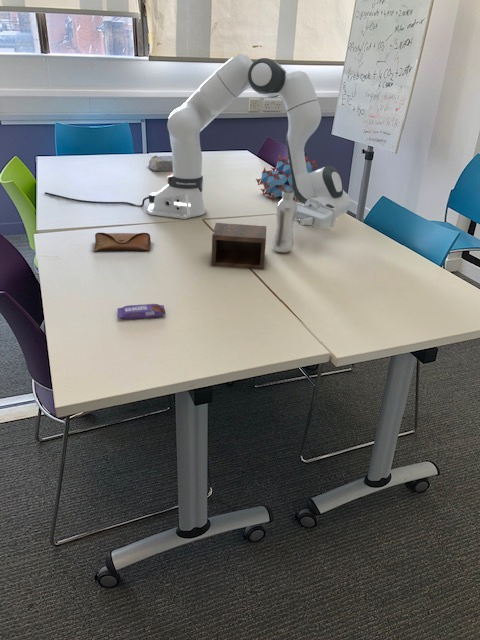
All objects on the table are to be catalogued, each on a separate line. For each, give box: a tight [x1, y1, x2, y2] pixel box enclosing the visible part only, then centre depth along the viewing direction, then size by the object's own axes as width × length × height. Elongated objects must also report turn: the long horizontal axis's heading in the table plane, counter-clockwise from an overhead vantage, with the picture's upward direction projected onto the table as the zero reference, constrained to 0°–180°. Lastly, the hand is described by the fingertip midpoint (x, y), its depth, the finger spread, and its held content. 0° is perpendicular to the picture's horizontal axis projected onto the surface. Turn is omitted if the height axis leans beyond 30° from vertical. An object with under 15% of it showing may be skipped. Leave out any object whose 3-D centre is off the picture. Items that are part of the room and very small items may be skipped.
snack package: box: [116, 303, 167, 320], centre depth 124 cm, size 12×2×5 cm
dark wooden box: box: [211, 222, 267, 270], centre depth 155 cm, size 16×11×10 cm
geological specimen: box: [148, 155, 173, 172], centre depth 256 cm, size 11×6×15 cm
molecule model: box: [255, 155, 318, 201], centre depth 218 cm, size 16×14×25 cm
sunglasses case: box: [93, 232, 152, 252], centre depth 162 cm, size 18×7×7 cm
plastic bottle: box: [272, 190, 297, 253], centre depth 161 cm, size 6×7×20 cm
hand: (288, 218), depth 162 cm, fingers open, 8 cm apart
